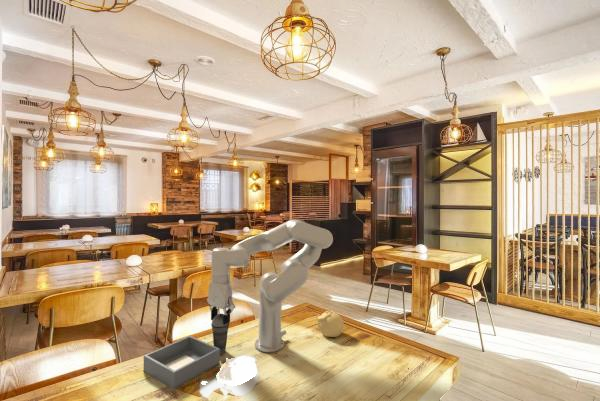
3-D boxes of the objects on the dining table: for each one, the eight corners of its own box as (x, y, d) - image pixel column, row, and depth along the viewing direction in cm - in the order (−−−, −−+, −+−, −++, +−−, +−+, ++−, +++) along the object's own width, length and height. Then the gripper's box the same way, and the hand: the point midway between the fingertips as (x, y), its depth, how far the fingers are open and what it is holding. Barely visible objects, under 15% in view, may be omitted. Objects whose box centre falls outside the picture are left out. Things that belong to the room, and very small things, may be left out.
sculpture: (325, 326, 160) (326, 305, 159) (347, 333, 153) (348, 311, 152) (313, 334, 150) (313, 312, 150) (335, 342, 143) (336, 318, 143)
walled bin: (189, 349, 133) (190, 335, 133) (219, 363, 123) (219, 348, 123) (143, 371, 116) (143, 355, 116) (173, 390, 106) (174, 372, 106)
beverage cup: (224, 357, 128) (225, 307, 127) (207, 354, 129) (208, 305, 128) (231, 348, 135) (232, 301, 134) (215, 345, 136) (216, 299, 135)
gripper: (199, 276, 132) (199, 319, 133) (229, 284, 123) (228, 330, 123) (213, 272, 139) (213, 313, 139) (242, 279, 129) (242, 323, 130)
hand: (220, 320), depth 131 cm, fingers closed on beverage cup, 6 cm apart
